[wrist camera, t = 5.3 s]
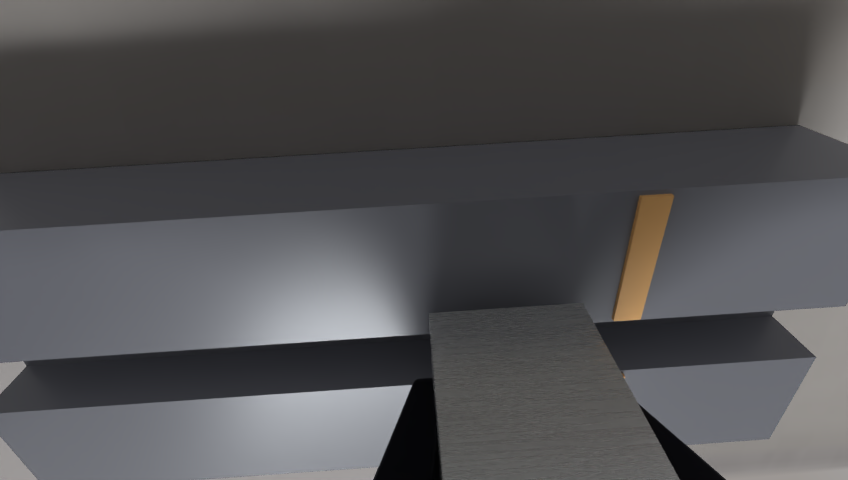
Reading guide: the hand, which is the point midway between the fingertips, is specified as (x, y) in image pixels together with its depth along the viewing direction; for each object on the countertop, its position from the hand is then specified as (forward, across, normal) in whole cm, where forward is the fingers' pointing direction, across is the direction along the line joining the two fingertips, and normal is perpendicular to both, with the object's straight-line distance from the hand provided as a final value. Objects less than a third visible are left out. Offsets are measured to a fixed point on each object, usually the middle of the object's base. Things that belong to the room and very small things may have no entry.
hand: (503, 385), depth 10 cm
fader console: (+4, +2, 0) cm, 4 cm away
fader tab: (+2, 0, 0) cm, 2 cm away
